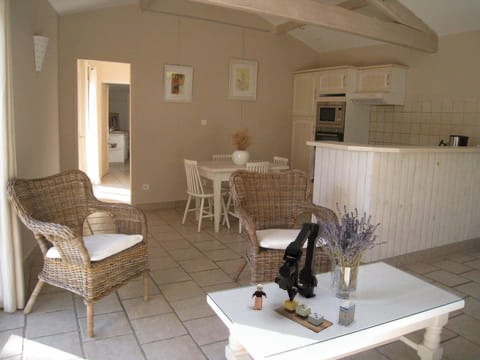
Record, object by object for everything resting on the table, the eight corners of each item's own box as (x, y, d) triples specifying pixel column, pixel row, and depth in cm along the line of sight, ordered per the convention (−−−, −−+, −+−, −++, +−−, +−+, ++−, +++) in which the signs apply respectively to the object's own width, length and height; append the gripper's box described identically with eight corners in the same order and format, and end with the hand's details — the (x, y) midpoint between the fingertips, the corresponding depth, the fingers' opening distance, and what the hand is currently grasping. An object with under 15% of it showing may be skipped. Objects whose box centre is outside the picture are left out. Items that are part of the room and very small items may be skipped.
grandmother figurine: (252, 311, 196) (253, 286, 194) (250, 307, 200) (251, 283, 198) (267, 309, 198) (268, 285, 196) (264, 305, 202) (266, 282, 200)
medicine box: (345, 317, 193) (346, 300, 192) (354, 320, 191) (355, 303, 189) (338, 323, 187) (339, 305, 186) (347, 326, 185) (348, 308, 183)
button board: (290, 303, 205) (290, 302, 205) (333, 324, 186) (333, 322, 186) (274, 310, 197) (274, 309, 197) (317, 333, 178) (317, 331, 178)
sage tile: (302, 309, 195) (302, 303, 194) (310, 313, 191) (310, 307, 190) (295, 312, 191) (295, 306, 191) (303, 316, 188) (304, 310, 187)
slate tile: (314, 317, 189) (315, 311, 189) (323, 322, 186) (323, 315, 185) (308, 321, 186) (308, 315, 186) (316, 325, 182) (317, 319, 182)
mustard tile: (290, 303, 200) (290, 297, 200) (298, 307, 196) (298, 301, 196) (283, 306, 197) (284, 300, 196) (291, 310, 193) (291, 304, 193)
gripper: (267, 268, 195) (266, 299, 197) (297, 281, 181) (295, 313, 184) (282, 263, 202) (281, 292, 205) (312, 275, 189) (310, 306, 191)
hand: (291, 301), depth 196 cm, fingers closed, pressing on mustard tile
